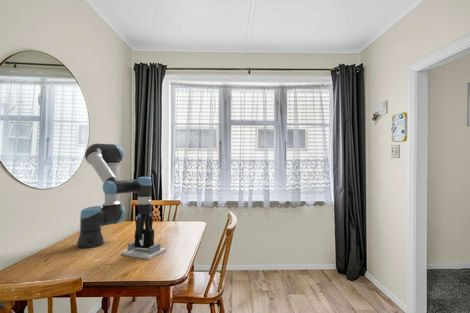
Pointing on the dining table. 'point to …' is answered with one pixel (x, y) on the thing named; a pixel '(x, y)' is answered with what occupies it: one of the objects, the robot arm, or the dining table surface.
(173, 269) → the dining table surface
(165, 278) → the dining table surface
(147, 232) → the electronic device
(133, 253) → the mounting board
